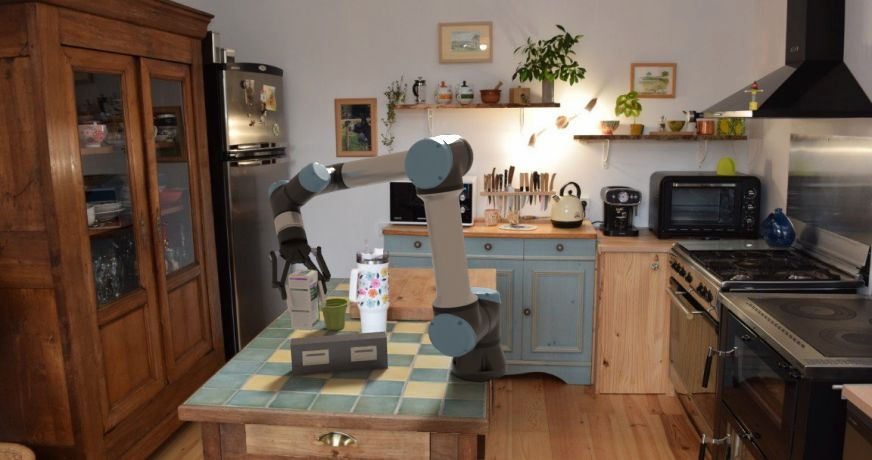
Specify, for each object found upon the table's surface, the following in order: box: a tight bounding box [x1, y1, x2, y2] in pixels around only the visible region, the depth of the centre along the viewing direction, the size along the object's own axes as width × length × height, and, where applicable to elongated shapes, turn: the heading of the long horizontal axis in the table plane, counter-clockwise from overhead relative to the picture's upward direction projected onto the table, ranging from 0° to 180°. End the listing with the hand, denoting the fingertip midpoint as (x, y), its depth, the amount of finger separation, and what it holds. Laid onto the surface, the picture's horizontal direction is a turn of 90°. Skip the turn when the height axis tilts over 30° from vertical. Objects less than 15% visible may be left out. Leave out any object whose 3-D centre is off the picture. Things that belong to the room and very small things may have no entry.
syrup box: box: [287, 268, 321, 331], centre depth 175 cm, size 6×6×14 cm
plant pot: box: [319, 297, 349, 331], centre depth 222 cm, size 9×9×9 cm
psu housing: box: [290, 331, 389, 377], centre depth 188 cm, size 26×6×9 cm, turn 99°
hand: (307, 307), depth 172 cm, fingers closed on syrup box, 8 cm apart
